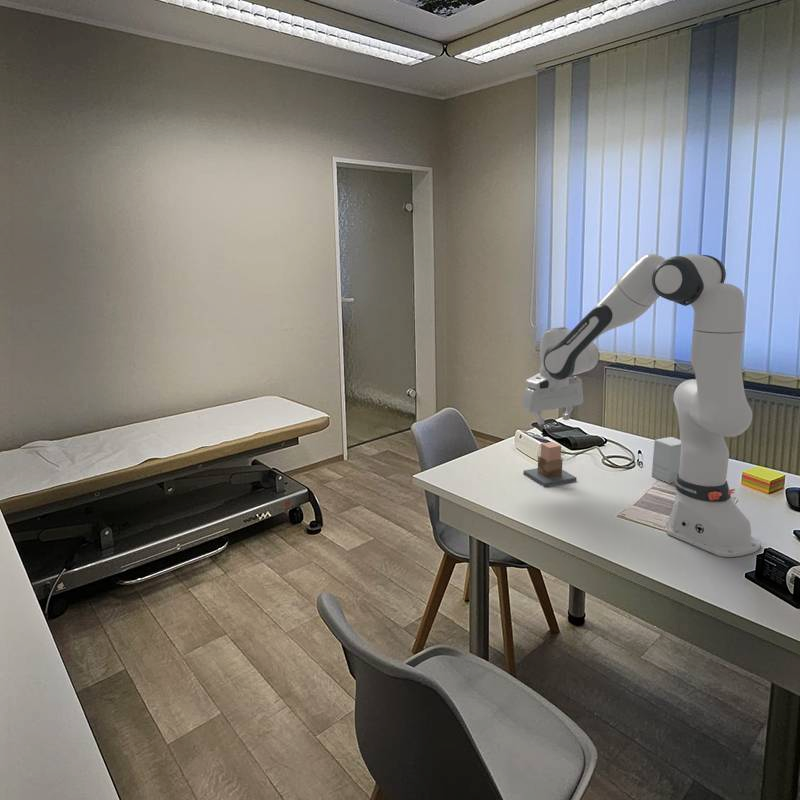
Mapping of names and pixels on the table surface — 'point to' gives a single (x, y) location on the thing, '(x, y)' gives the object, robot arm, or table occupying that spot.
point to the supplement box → (666, 459)
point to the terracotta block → (551, 451)
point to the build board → (549, 481)
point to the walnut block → (549, 467)
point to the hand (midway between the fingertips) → (553, 421)
